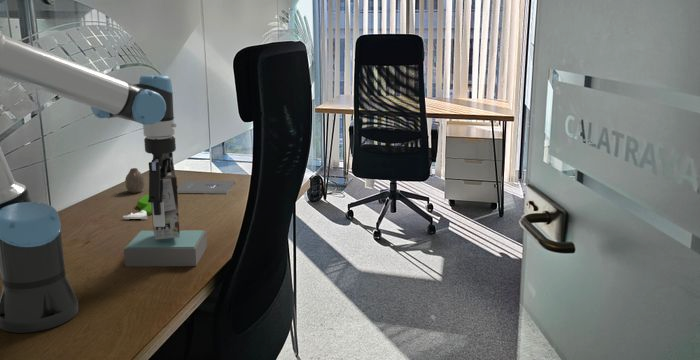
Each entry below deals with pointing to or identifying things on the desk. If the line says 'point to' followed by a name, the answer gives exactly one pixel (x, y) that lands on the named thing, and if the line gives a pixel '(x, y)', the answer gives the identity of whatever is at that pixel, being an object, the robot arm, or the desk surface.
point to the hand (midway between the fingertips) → (165, 219)
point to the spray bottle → (145, 208)
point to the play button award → (205, 187)
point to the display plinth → (166, 249)
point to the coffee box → (169, 209)
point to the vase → (134, 181)
